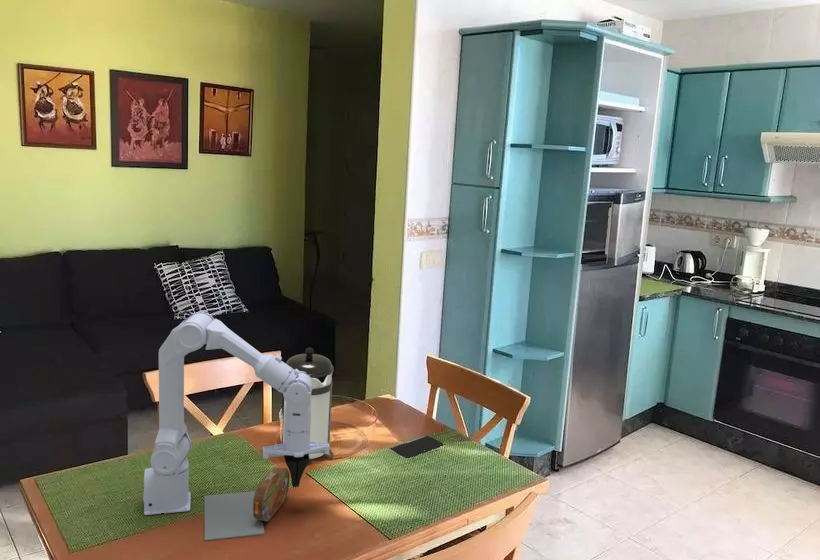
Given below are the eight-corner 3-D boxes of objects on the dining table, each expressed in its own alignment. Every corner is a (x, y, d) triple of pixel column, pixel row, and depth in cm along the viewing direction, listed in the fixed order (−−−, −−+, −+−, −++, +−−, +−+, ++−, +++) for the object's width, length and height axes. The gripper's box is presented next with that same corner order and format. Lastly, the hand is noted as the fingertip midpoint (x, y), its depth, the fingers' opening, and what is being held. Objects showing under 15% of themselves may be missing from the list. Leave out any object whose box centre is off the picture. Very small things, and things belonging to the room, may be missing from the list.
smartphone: (388, 448, 181) (426, 435, 191) (387, 452, 181) (426, 438, 191) (407, 459, 175) (446, 444, 185) (407, 463, 175) (446, 448, 186)
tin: (262, 528, 139) (265, 492, 138) (248, 525, 140) (251, 489, 138) (289, 496, 154) (292, 462, 152) (276, 493, 154) (279, 460, 153)
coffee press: (341, 446, 182) (346, 342, 176) (323, 472, 166) (328, 359, 161) (281, 438, 184) (285, 335, 179) (259, 462, 169) (262, 351, 164)
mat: (204, 541, 134) (204, 539, 134) (204, 496, 151) (204, 495, 151) (264, 534, 138) (264, 533, 138) (257, 492, 155) (257, 490, 154)
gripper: (265, 437, 139) (264, 496, 141) (333, 433, 143) (330, 490, 146) (262, 424, 145) (261, 480, 148) (327, 420, 150) (324, 475, 152)
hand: (295, 484), depth 147 cm, fingers closed
